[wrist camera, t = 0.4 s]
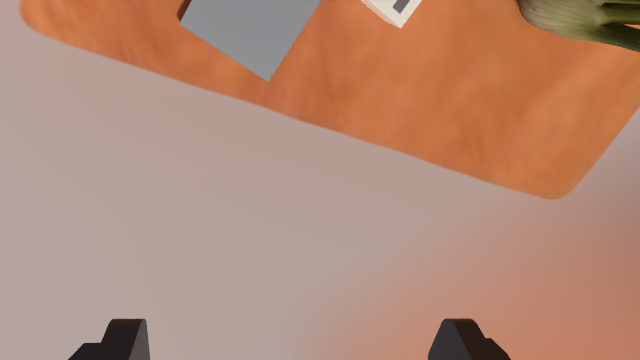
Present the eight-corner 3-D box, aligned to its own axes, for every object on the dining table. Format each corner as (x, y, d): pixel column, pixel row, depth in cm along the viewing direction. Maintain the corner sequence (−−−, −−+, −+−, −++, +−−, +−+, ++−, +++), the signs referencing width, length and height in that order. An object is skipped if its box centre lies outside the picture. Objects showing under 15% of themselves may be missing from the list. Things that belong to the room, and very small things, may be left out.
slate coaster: (232, -76, 28) (232, -77, 27) (322, -4, 31) (323, -3, 30) (180, 23, 30) (178, 24, 30) (267, 80, 33) (268, 82, 33)
